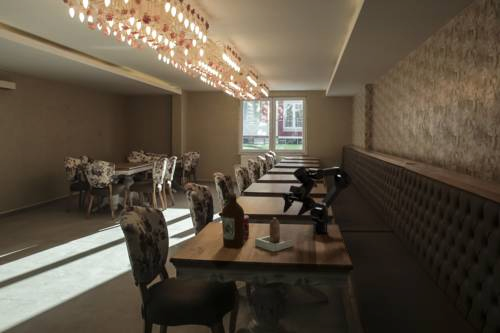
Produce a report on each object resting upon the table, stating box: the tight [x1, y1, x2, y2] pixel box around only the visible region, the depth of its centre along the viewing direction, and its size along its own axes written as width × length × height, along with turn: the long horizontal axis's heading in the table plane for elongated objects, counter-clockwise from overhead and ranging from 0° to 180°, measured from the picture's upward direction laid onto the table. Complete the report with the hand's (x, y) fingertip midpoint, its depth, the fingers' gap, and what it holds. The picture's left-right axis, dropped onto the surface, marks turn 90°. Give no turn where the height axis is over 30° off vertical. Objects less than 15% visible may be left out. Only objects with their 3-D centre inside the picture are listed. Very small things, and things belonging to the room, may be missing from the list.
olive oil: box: [221, 192, 245, 249], centre depth 183 cm, size 11×11×25 cm
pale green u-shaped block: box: [254, 235, 293, 253], centre depth 183 cm, size 12×12×3 cm
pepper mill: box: [269, 217, 281, 244], centre depth 183 cm, size 5×5×13 cm
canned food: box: [243, 214, 250, 240], centre depth 198 cm, size 8×8×11 cm
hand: (290, 214), depth 190 cm, fingers open, 9 cm apart
